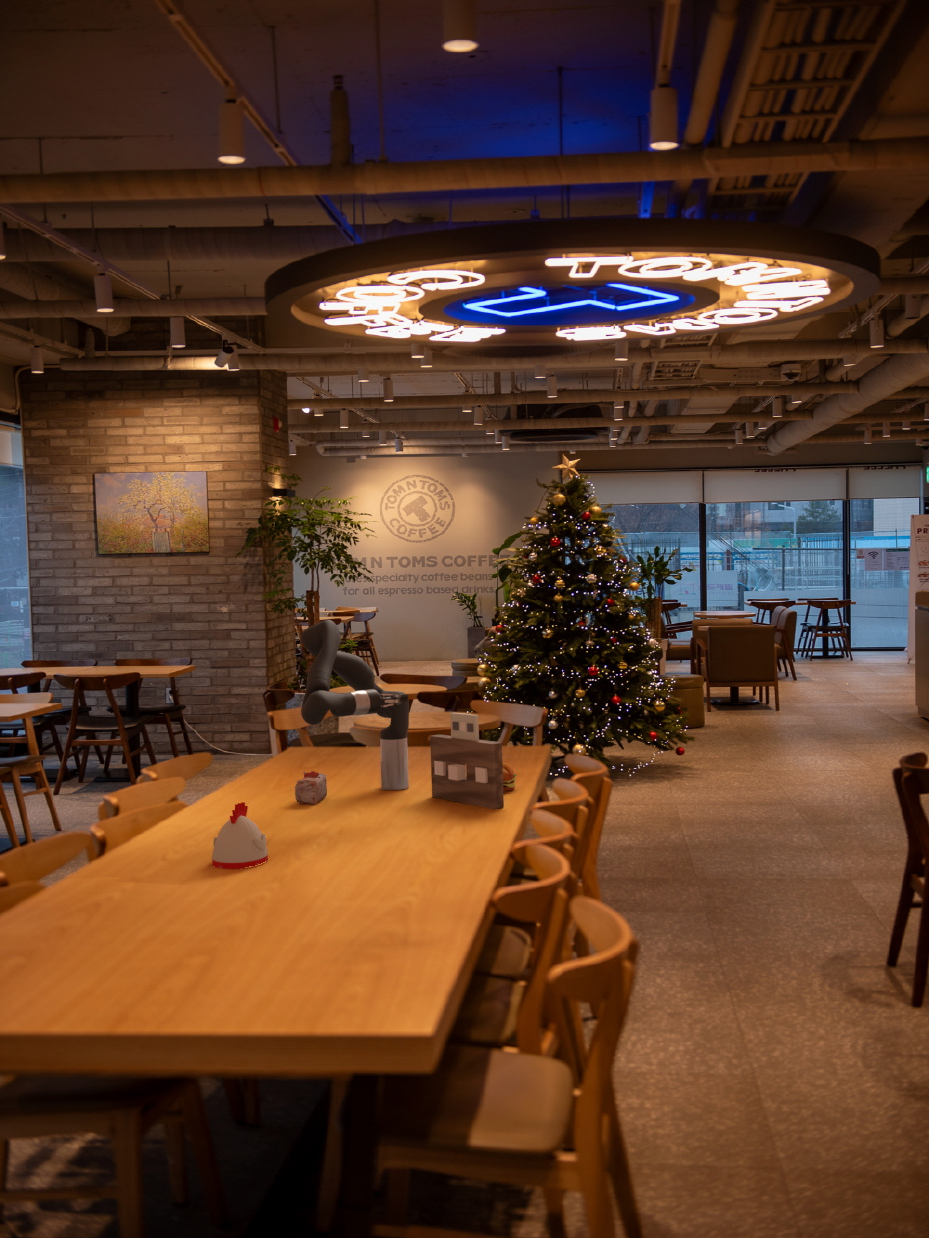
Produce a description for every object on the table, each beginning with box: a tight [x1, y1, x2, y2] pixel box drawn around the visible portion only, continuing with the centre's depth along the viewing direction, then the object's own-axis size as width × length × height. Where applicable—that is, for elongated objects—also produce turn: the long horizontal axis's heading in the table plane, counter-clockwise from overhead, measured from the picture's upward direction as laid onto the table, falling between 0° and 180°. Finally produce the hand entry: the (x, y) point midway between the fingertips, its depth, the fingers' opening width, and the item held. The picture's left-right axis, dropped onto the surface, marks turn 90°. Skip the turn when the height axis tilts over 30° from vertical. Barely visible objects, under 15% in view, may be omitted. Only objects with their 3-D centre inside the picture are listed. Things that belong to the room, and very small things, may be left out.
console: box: [429, 734, 505, 810], centre depth 340 cm, size 4×30×20 cm, turn 41°
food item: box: [294, 770, 328, 806], centre depth 348 cm, size 14×8×10 cm, turn 172°
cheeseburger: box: [502, 761, 517, 792], centre depth 359 cm, size 10×11×10 cm
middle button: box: [448, 764, 467, 781], centre depth 337 cm, size 4×4×4 cm
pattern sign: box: [450, 712, 480, 741], centre depth 339 cm, size 2×12×8 cm, turn 41°
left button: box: [434, 760, 446, 776], centre depth 347 cm, size 4×4×4 cm
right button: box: [475, 767, 488, 783], centre depth 332 cm, size 4×4×4 cm
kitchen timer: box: [211, 802, 269, 870], centre depth 272 cm, size 14×14×15 cm
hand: (406, 697), depth 337 cm, fingers closed
